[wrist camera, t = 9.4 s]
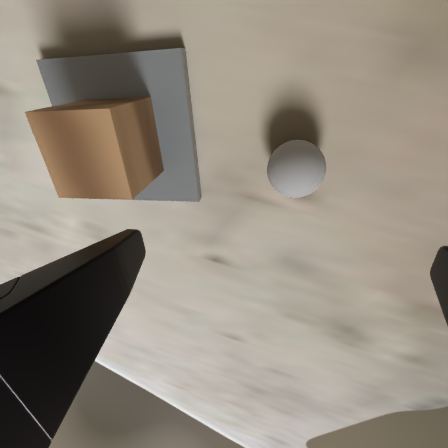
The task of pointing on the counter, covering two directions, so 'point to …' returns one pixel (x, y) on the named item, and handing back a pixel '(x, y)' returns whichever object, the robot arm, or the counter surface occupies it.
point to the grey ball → (296, 168)
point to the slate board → (133, 88)
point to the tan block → (99, 147)
